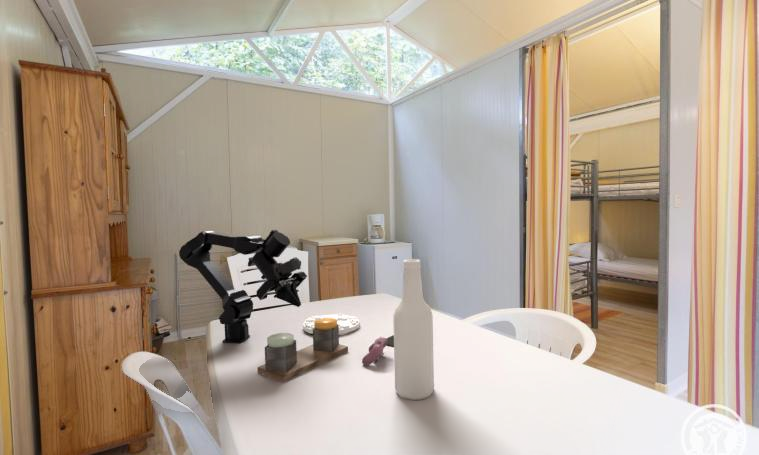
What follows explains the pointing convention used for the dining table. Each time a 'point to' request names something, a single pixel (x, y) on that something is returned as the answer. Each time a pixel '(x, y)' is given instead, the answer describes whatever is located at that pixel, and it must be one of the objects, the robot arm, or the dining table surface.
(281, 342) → the pale green rounded piece
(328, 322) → the orange button
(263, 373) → the button board
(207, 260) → the robot arm
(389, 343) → the phone
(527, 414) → the dining table surface
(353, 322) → the giant coin
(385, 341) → the video game controller
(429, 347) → the alcohol
